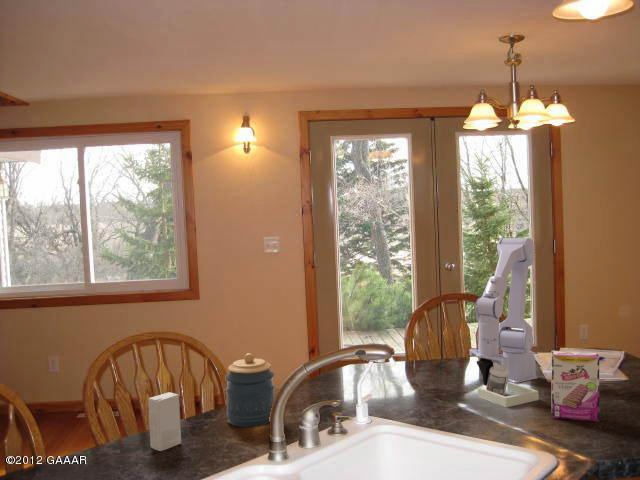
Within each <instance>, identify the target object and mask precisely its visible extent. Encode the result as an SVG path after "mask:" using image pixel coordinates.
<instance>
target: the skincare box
mask: <svg viewBox="0 0 640 480" xmlns="http://www.w3.org/2000/svg"><path fill="white" fill-rule="evenodd" d="M147 401H148V402H147V403H148V418H149V419H148V421H149V437H150V439H149V442H150V443H149V444H150V448H151V449H153V450H155V451H159V452H162V451H165V450H167V449H170V448H173V447H175V446H177V445H180V444H182V433H181V409H180V395H179V394H177V393H174V392H169V391H168V392H165V393H161V394H159V395H155V396H152V397H151V396H150V397H149V398H148V399H147Z"/></svg>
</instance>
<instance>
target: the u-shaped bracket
mask: <svg viewBox="0 0 640 480" xmlns="http://www.w3.org/2000/svg"><path fill="white" fill-rule="evenodd" d="M506 391H507V392H510V393H513V394H511V395H508V396H505V395H504V396H502V395H499V394H497V393H494V392H491V391H488V390H486V389H485V388H482V387H478V388H477V397H478V398H479V399H482V400H485V401H487V402H490V403H492V404H495V405H498V406H501V407H503V408H509V407H510V408H511V407H514V406H519V405H522V404H528V403H532V402H537V401H539V397H540V396H539V391H538V390H536V389H533V388H531V387H526V386H525V385H520V384H519V383H513V382H510V381H507V386H506Z"/></svg>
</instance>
